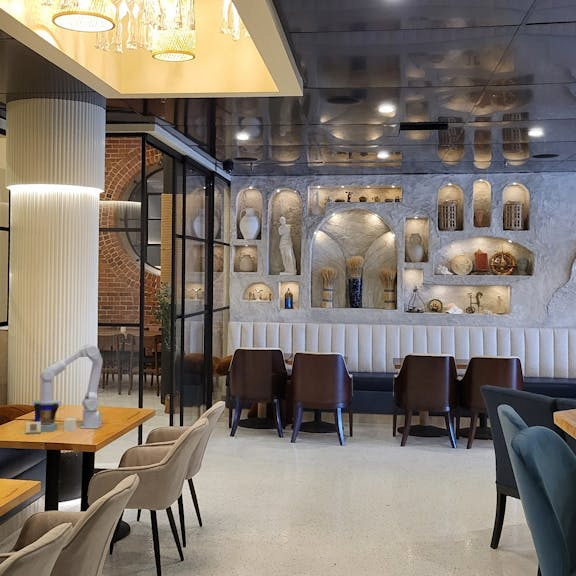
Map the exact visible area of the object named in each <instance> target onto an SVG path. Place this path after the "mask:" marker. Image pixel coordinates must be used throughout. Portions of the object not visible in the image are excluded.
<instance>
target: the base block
mask: <svg viewBox="0 0 576 576" xmlns="http://www.w3.org/2000/svg"><path fill="white" fill-rule="evenodd" d="M57 429H58V423H57V422H56V423H55V422H54V423H41V433H53V432H55V431H57Z"/></svg>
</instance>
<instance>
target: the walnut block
mask: <svg viewBox="0 0 576 576" xmlns="http://www.w3.org/2000/svg"><path fill="white" fill-rule="evenodd" d="M39 422H41V423H50V422H53V419H52V410H40V421H39Z"/></svg>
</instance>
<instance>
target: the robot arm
mask: <svg viewBox="0 0 576 576" xmlns="http://www.w3.org/2000/svg"><path fill="white" fill-rule="evenodd" d="M85 357H88V358H89V360H90V361H91V362H92V365H91V370H90V374H89V375H90V376H89V381H88V386H87V391H86V393H85V396H84V398H83V400H82V402H81V403H82V407H83V409H82V425H81V426H80V427H79V428H80V429H99V428H101V427H103V425H102V424H103V423H102V420H103V419H102V412H101V410H97V409H98V406H99V403H98V389H99V383H100V378H101V372H102V367H103V363H104V362H103V361H104V360H103V357H102V355H101V352H100V349H99V348H98V347H97V346H96V345H93V344H89V343H86V344H84V346H81V347H79V348H78V349H77V350H75V351H73V352H72V353H71V354H69V356H67V357H66V358H64V359H62V360H61V359H59V360H55V361H54V363H53V364H51V365H50V366H47V367H46V369H43V370H42V371H41V372H40V374H39V377H40V379H41V381H40V400H32V401H31V405H32V406H33V409H34V411H35V410H36V413H37V416H38V419H40V410H41V407H42V405H53V406H51V408H52V419H55V414H56V415H57V411H58V409H59V407H60V406H61V405H62V401H61V400H53V387H54V386H53V385H54V383H53V379H54V377H56V376H58V375H59V374H61V373H62V372H64V371H65V370H66V368H67V366H68V365H70V364H71V363H73V362H75V361H76V360H77V359H78V358H85ZM47 403H50V404H47Z"/></svg>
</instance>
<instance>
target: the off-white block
mask: <svg viewBox="0 0 576 576" xmlns="http://www.w3.org/2000/svg"><path fill="white" fill-rule="evenodd" d="M76 430H77V418H76V417H67V418H64V419H63V432H75V431H76Z"/></svg>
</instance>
